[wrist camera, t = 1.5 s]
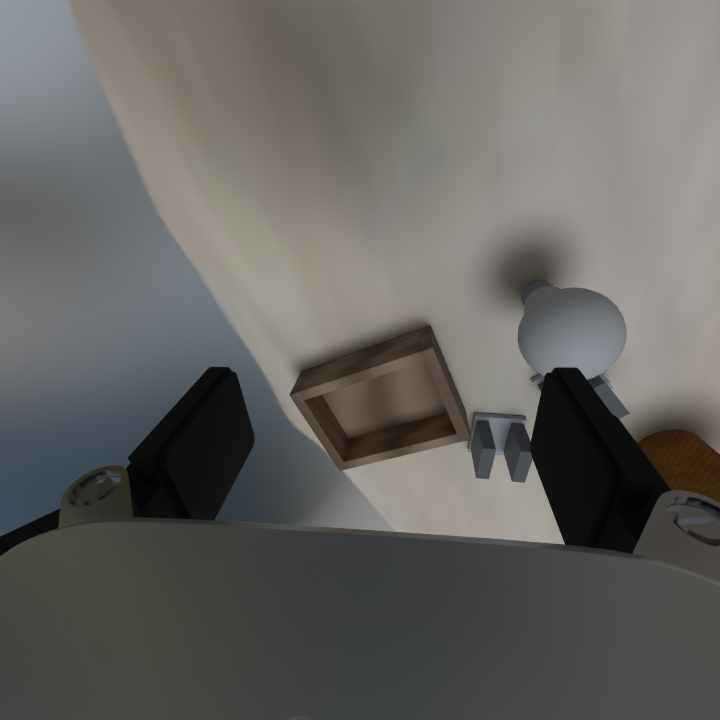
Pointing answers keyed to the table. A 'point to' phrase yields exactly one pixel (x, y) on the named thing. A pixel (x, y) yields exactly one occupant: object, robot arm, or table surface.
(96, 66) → the table surface
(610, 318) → the lightbulb
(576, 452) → the robot arm
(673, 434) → the disposable coffee cup
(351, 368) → the tray
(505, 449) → the clip
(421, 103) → the table surface
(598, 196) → the table surface
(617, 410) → the clip
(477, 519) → the table surface
